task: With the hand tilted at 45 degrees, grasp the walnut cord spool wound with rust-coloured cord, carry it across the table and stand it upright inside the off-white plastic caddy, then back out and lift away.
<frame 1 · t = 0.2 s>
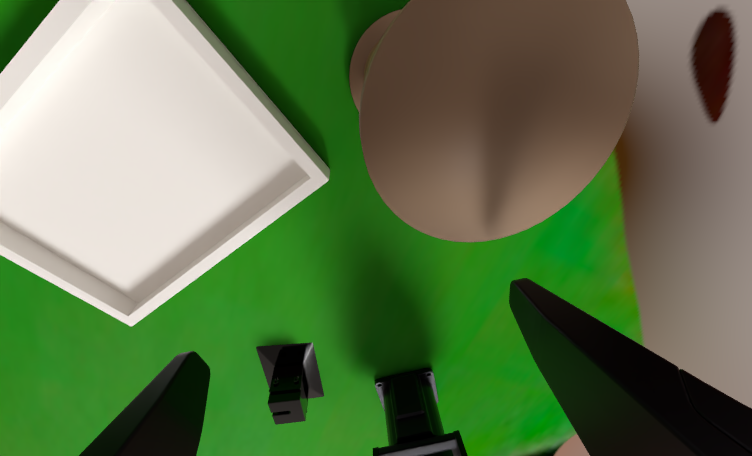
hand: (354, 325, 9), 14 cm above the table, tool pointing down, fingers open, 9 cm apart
dark boxy piece: (293, 367, 33), on the table
cord spool: (405, 78, 19), on the table
caddy: (143, 177, 20), on the table
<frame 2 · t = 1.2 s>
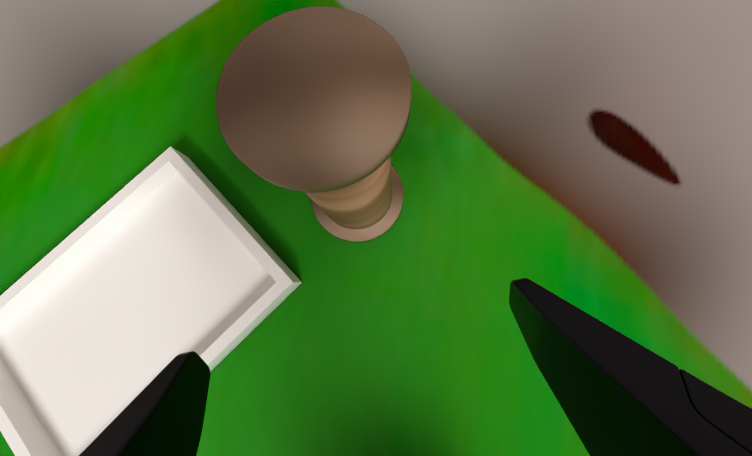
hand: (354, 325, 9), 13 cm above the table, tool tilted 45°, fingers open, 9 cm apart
cord spool: (358, 197, 23), on the table
caddy: (141, 310, 23), on the table
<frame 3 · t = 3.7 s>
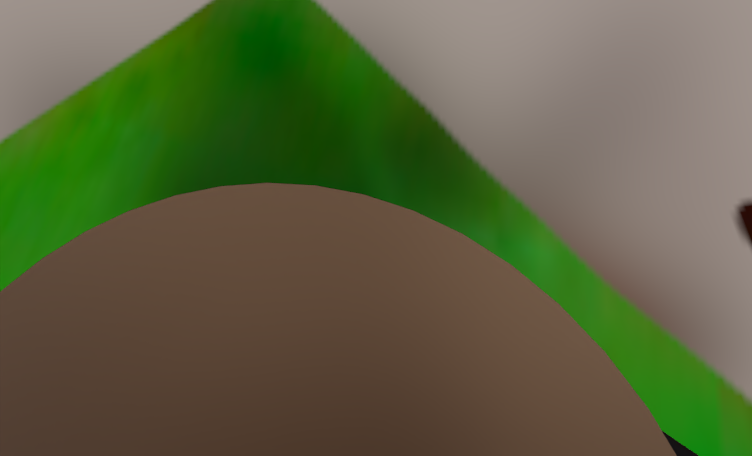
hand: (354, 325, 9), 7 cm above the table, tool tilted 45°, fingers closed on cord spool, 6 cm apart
cord spool: (378, 340, 15), on the table, touching gripper
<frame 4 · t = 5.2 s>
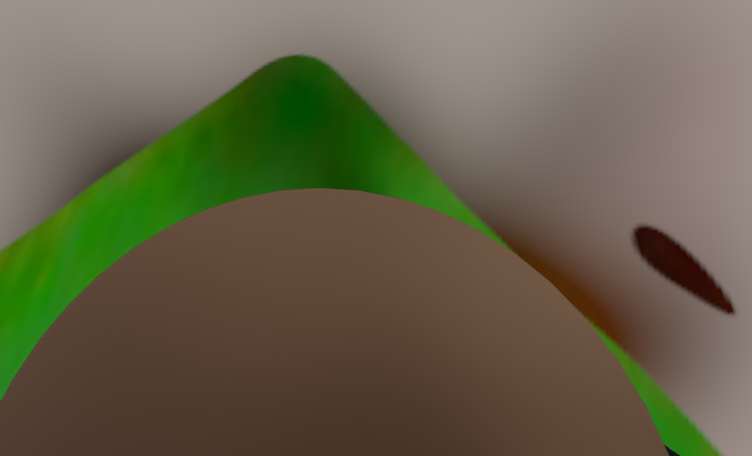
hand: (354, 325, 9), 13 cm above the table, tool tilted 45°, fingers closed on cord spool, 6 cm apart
cord spool: (379, 338, 15), point 6 cm above the table, touching gripper
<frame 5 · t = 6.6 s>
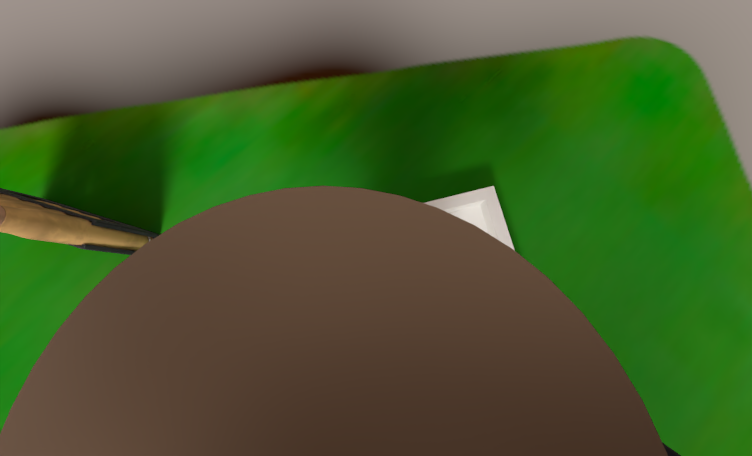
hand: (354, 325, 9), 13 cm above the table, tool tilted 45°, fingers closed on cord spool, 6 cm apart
cord spool: (384, 338, 15), point 6 cm above the table, touching gripper
ammunition clip: (99, 227, 24), on the table
caddy: (375, 321, 22), on the table
when the fingers open (8 cm above the table, at t = 8.4 s): cord spool stays where it is, resting on caddy.
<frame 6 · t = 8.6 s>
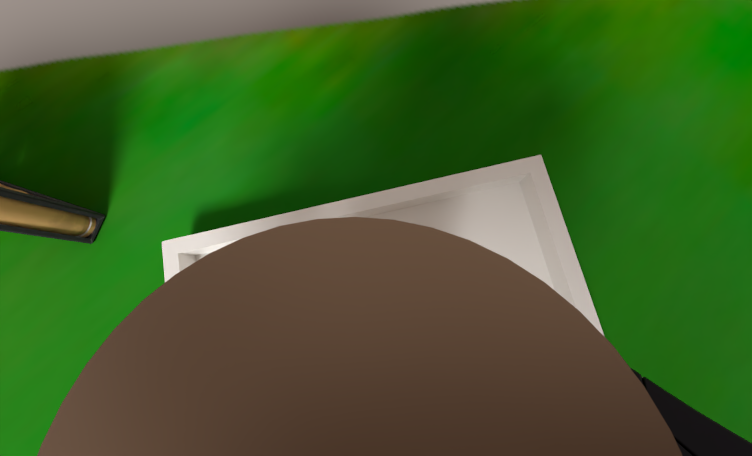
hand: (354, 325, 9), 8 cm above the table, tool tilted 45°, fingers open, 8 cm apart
cord spool: (385, 339, 16), point 1 cm above the table, touching caddy
ammunition clip: (32, 206, 19), on the table
caddy: (380, 332, 16), on the table
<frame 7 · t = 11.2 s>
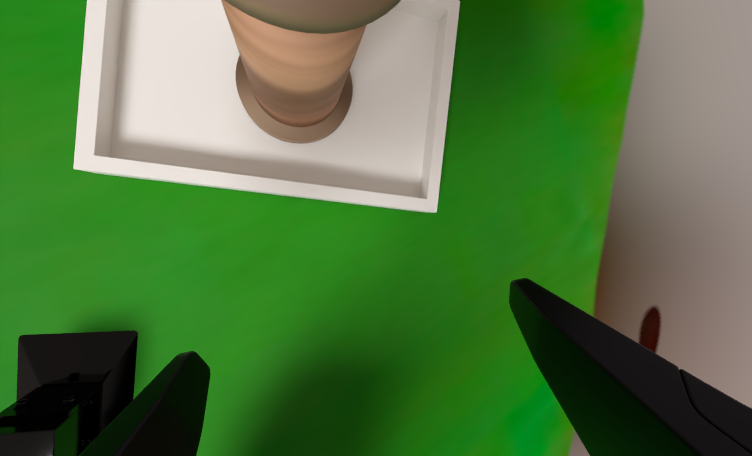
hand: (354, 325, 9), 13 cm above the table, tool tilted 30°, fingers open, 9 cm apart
dark boxy piece: (84, 406, 18), on the table
cord spool: (296, 88, 19), point 1 cm above the table, touching caddy
caddy: (293, 87, 20), on the table
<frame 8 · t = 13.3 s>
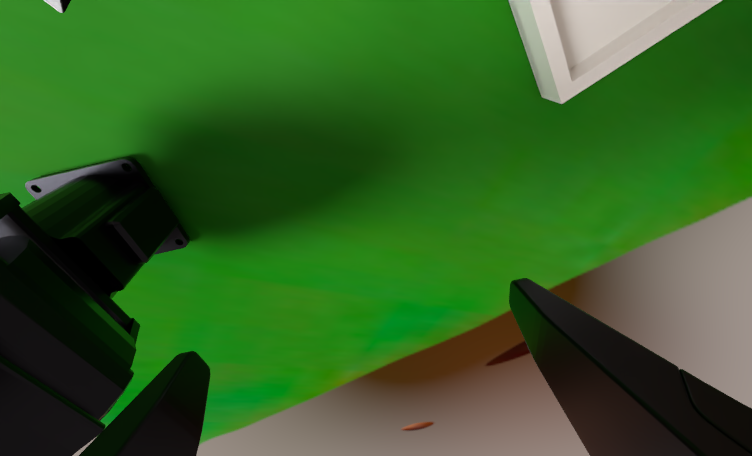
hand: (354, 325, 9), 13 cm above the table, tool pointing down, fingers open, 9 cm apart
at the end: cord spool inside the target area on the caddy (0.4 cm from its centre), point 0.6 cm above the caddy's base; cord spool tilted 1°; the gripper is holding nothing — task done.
